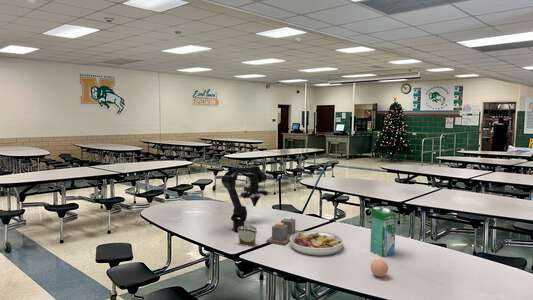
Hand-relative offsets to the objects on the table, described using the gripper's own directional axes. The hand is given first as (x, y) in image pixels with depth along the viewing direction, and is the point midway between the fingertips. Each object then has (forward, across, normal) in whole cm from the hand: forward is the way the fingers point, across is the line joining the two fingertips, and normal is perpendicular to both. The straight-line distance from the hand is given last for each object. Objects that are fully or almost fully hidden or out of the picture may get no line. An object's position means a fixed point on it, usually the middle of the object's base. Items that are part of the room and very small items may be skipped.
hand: (254, 206), depth 251 cm
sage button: (+5, -8, +29) cm, 30 cm away
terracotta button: (+5, +4, +36) cm, 37 cm away
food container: (+13, +22, +31) cm, 40 cm away
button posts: (+12, -2, +32) cm, 34 cm away
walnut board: (+13, -2, +32) cm, 35 cm away
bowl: (+14, -8, +56) cm, 58 cm away
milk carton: (+13, -34, +82) cm, 89 cm away
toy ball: (+13, -9, +101) cm, 102 cm away
